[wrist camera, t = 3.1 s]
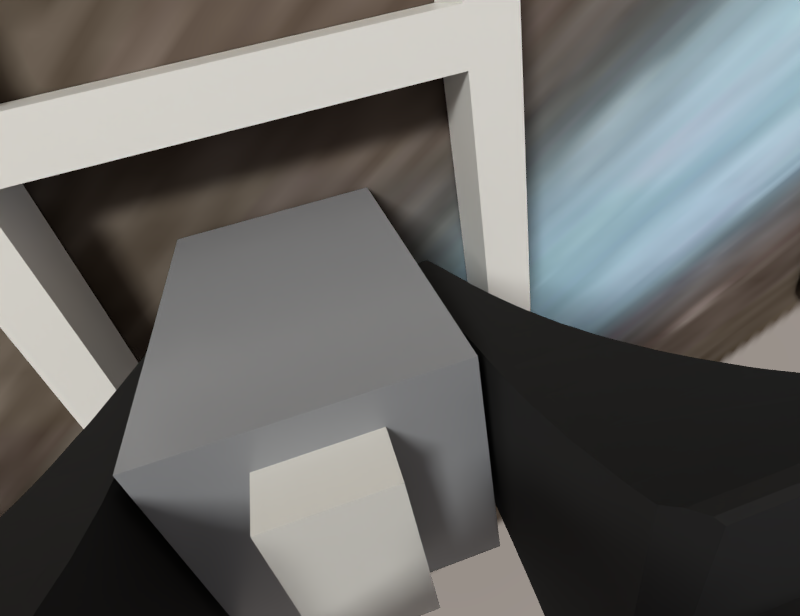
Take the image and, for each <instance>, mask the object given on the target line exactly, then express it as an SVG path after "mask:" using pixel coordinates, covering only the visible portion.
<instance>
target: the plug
mask: <svg viewBox="0 0 800 616" xmlns="http://www.w3.org/2000/svg"><path fill="white" fill-rule="evenodd" d="M113 477H114V478H115V479H116V480H117V481H118V483H119V484H120V485H121V486H122V487H123V489H124V490H125V491H126V492H127V493H128V495H129V496H130V497H131V498H132V499H133V501H134V502H135V503H136V504H137V505H138V507H139V508H140V509H141V510H142V511H143V513H144V514H145V515H146V516H147V517H148V519H149V520H150V521H151V522H152V523H153V525H154V526H155V527H156V528H157V529H158V531H159V532H160V533H161V534H162V535H163V536H164V538H165V539H166V540H167V541H168V542H169V544H170V545H171V546H172V547H173V548H174V550H175V551H176V552H177V553H178V554H179V556H180V557H181V558H182V559H183V560H184V562H185V563H186V564H187V565H188V566H189V568H190V569H191V570H192V571H193V572H194V574H195V575H196V576H197V577H198V578H199V580H200V581H201V582H202V583H203V584H204V586H205V587H206V588H207V589H208V590H209V592H210V593H211V594H212V595H213V596H214V598H215V599H216V600H217V601H218V602H219V604H220V605H221V606H222V607H223V608H224V610H225V611H226V612H227V613H228V614H229V616H421V615H423V614H426V613H428V612H431V611H434V610H436V609H438V608H440V605H439V602H438V599H437V595H436V591H435V588H434V585H433V581H432V577H431V574H430V572H433V571H435V570H438V569H441V568H443V567H445V566H448V565H451V564H454V563H456V562H459V561H462V560H464V559H467V558H469V557H472V556H475V555H478V554H480V553H483V552H485V551H488V550H491V549H493V548H496V547H498V546H500V542H499V535H498V525H497V517H496V508H495V499H494V491H493V482H492V474H491V465H490V457H489V448H488V439H487V431H486V422H485V414H484V405H483V396H482V388H481V379H480V371H479V362H478V356H477V354H476V353H475V351H474V350H473V348H472V347H471V345H470V344H469V342H468V340H467V339H466V337H465V336H464V334H463V333H462V331H461V330H460V328H459V327H458V325H457V324H456V322H455V321H454V319H453V318H452V316H451V315H450V313H449V312H448V310H447V308H446V307H445V305H444V304H443V302H442V301H441V299H440V298H439V296H438V295H437V293H436V292H435V290H434V289H433V287H432V286H431V284H430V283H429V281H428V280H427V278H426V276H425V275H424V273H423V272H422V270H421V269H420V267H419V266H418V264H417V263H416V261H415V260H414V258H413V257H412V255H411V254H410V252H409V251H408V249H407V248H406V246H405V244H404V243H403V241H402V240H401V238H400V237H399V235H398V234H397V232H396V231H395V229H394V228H393V226H392V225H391V223H390V222H389V220H388V219H387V217H386V215H385V214H384V212H383V211H382V209H381V208H380V206H379V205H378V203H377V202H376V200H375V199H374V197H373V196H372V194H371V193H370V191H369V190H368V188H363V189H359V190H356V191H352V192H348V193H345V194H341V195H338V196H334V197H330V198H327V199H323V200H319V201H316V202H312V203H308V204H305V205H301V206H298V207H294V208H290V209H287V210H283V211H279V212H276V213H272V214H268V215H265V216H261V217H258V218H254V219H250V220H247V221H243V222H239V223H236V224H232V225H228V226H225V227H221V228H218V229H214V230H210V231H207V232H203V233H199V234H196V235H192V236H188V237H185V238H181V239H178V240H177V244H176V248H175V251H174V255H173V258H172V262H171V266H170V269H169V273H168V277H167V280H166V284H165V288H164V291H163V295H162V298H161V302H160V306H159V309H158V313H157V317H156V320H155V324H154V327H153V331H152V335H151V338H150V342H149V346H148V349H147V353H146V357H145V360H144V364H143V367H142V371H141V375H140V378H139V382H138V386H137V389H136V393H135V397H134V400H133V404H132V407H131V411H130V415H129V418H128V422H127V426H126V429H125V433H124V436H123V440H122V444H121V447H120V451H119V455H118V458H117V462H116V466H115V469H114V473H113Z"/></svg>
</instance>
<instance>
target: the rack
mask: <svg viewBox="0 0 800 616" xmlns="http://www.w3.org/2000/svg"><path fill="white" fill-rule="evenodd" d="M439 78H443V80H444V88H445V96H446V105H447V113H448V122H449V130H450V139H451V147H452V155H453V164H454V172H455V181H456V189H457V197H458V206H459V214H460V223H461V231H462V240H463V248H464V256H465V265H466V273H467V282H468V283H470V284H472V285H474V286H476V287H478V288H480V289H482V290H484V291H486V292H488V293H490V294H492V295H494V296H496V297H498V298H500V299H502V300H505V301H507V302H509V303H511V304H513V305H516V306H518V307H520V308H523V309H525V310H528V311H530V281H529V250H528V220H527V189H526V159H525V128H524V98H523V67H522V37H521V6H520V0H434V3H432V4H427V5H423V6H419V7H414V8H410V9H406V10H401V11H397V12H393V13H388V14H384V15H380V16H376V17H371V18H367V19H363V20H358V21H354V22H350V23H345V24H341V25H337V26H333V27H328V28H324V29H320V30H315V31H311V32H307V33H302V34H298V35H294V36H289V37H285V38H281V39H277V40H272V41H268V42H264V43H259V44H255V45H251V46H246V47H242V48H238V49H233V50H229V51H225V52H221V53H216V54H212V55H208V56H203V57H199V58H195V59H190V60H186V61H182V62H178V63H173V64H169V65H165V66H160V67H156V68H152V69H147V70H143V71H139V72H134V73H130V74H126V75H122V76H117V77H113V78H109V79H104V80H100V81H96V82H91V83H87V84H83V85H78V86H74V87H70V88H66V89H61V90H57V91H53V92H48V93H44V94H40V95H35V96H31V97H27V98H23V99H18V100H14V101H10V102H5V103H1V104H0V327H1V329H2V330H3V331H4V332H5V334H6V335H7V336H8V337H9V338H10V340H11V341H12V342H13V343H14V345H15V346H16V347H17V348H18V349H19V351H20V352H21V353H22V354H23V356H24V357H25V358H26V359H27V360H28V362H29V363H30V364H31V365H32V367H33V368H34V369H35V370H36V371H37V373H38V374H39V375H40V376H41V378H42V379H43V380H44V381H45V382H46V384H47V385H48V386H49V387H50V389H51V390H52V391H53V392H54V393H55V395H56V396H57V397H58V398H59V400H60V401H61V402H62V403H63V404H64V406H65V407H66V408H67V409H68V411H69V412H70V413H71V414H72V415H73V417H74V418H75V419H76V420H77V422H78V423H79V424H80V425H81V426H82V428H83V429H84V428H85V427H86V426H87V425H88V424H89V423H90V422H91V420H92V419H93V418H94V417H95V416H96V414H97V413H98V412H99V411H100V410H101V408H102V407H103V406H104V405H105V403H106V402H107V401H108V400H109V399H110V397H111V396H112V395H113V394H114V393H115V391H116V390H117V389H118V388H119V386H120V385H121V384H122V383H123V382H124V380H125V379H126V378H127V377H128V375H129V374H130V373H131V372H132V370H133V369H134V368H135V367H136V365H137V364H138V361H137V360H136V358H135V357H134V355H133V354H132V352H131V351H130V349H129V348H128V346H127V345H126V343H125V341H124V340H123V338H122V337H121V335H120V334H119V332H118V331H117V329H116V328H115V326H114V324H113V323H112V321H111V320H110V318H109V317H108V315H107V314H106V312H105V311H104V309H103V307H102V306H101V304H100V303H99V301H98V300H97V298H96V297H95V295H94V294H93V292H92V291H91V289H90V287H89V286H88V284H87V283H86V281H85V280H84V278H83V277H82V275H81V274H80V272H79V270H78V269H77V267H76V266H75V264H74V263H73V261H72V260H71V258H70V257H69V255H68V253H67V252H66V250H65V249H64V247H63V246H62V244H61V243H60V241H59V240H58V238H57V236H56V235H55V233H54V232H53V230H52V229H51V227H50V226H49V224H48V223H47V221H46V220H45V218H44V216H43V215H42V213H41V212H40V210H39V209H38V207H37V206H36V204H35V203H34V201H33V199H32V198H31V196H30V195H29V193H28V192H27V190H26V189H25V187H24V186H23V184H22V183H26V182H30V181H34V180H38V179H42V178H46V177H50V176H54V175H58V174H62V173H66V172H70V171H74V170H78V169H82V168H86V167H90V166H94V165H98V164H102V163H106V162H110V161H114V160H117V159H121V158H125V157H129V156H133V155H137V154H141V153H145V152H149V151H153V150H157V149H161V148H165V147H169V146H173V145H177V144H181V143H185V142H189V141H193V140H197V139H201V138H205V137H209V136H213V135H217V134H221V133H225V132H228V131H232V130H236V129H240V128H244V127H248V126H252V125H256V124H260V123H264V122H268V121H272V120H276V119H280V118H284V117H288V116H292V115H296V114H300V113H304V112H308V111H312V110H316V109H320V108H324V107H328V106H332V105H336V104H339V103H343V102H347V101H351V100H355V99H359V98H363V97H367V96H371V95H375V94H379V93H383V92H387V91H391V90H395V89H399V88H403V87H407V86H411V85H415V84H419V83H423V82H427V81H431V80H435V79H439ZM530 312H531V311H530Z"/></svg>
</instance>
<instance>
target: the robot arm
mask: <svg viewBox="0 0 800 616" xmlns="http://www.w3.org/2000/svg"><path fill="white" fill-rule="evenodd" d="M417 264H418V266H419V267H420V269H421V270H422V272H423V273H424V275H425V276H426V278H427V280H428V281H429V283H430V284H431V286H432V287H433V289H434V290H435V292H436V293H437V295H438V296H439V298H440V299H441V301H442V302H443V304H444V305H445V307H446V308H447V310H448V312H449V313H450V315H451V316H452V318H453V319H454V321H455V322H456V324H457V325H458V327H459V328H460V330H461V331H462V333H463V334H464V336H465V337H466V339H467V340H468V342H469V344H470V345H471V347H472V348H473V350H474V351H475V353H476V354H477V356H478V362H479V371H480V379H481V388H482V396H483V405H484V414H485V422H486V431H487V439H488V448H489V457H490V465H491V474H492V482H493V491H494V499H495V504H496V506H497V508H498V510H499V513H500V515H501V517H502V519H503V521H504V524H505V526H506V528H507V530H508V532H509V535H510V537H511V539H512V541H513V543H514V546H515V548H516V550H517V553H518V555H519V557H520V559H521V562H522V564H523V566H524V569H525V571H526V573H527V575H528V578H529V580H530V582H531V585H532V587H533V589H534V592H535V594H536V596H537V598H538V601H539V603H540V606H541V608H542V610H543V613H544V615H545V616H800V373H796V372H786V371H777V370H768V369H760V368H753V367H746V366H740V365H734V364H728V363H722V362H716V361H710V360H703V359H697V358H692V357H687V356H682V355H677V354H672V353H667V352H662V351H658V350H654V349H650V348H645V347H641V346H637V345H633V344H629V343H624V342H620V341H617V340H613V339H609V338H606V337H602V336H599V335H595V334H592V333H589V332H586V331H583V330H580V329H577V328H574V327H570V326H567V325H564V324H561V323H558V322H556V321H553V320H550V319H547V318H545V317H542V316H540V315H537V314H535V313H532V312H530V311H528V310H525V309H523V308H520V307H518V306H516V305H513V304H511V303H509V302H507V301H505V300H502V299H500V298H498V297H496V296H494V295H492V294H490V293H488V292H486V291H484V290H482V289H480V288H478V287H476V286H474V285H472V284H470V283H468V282H466V281H464V280H463V279H461V278H459V277H457V276H455V275H453V274H452V273H450V272H448V271H446V270H444V269H443V268H441V267H439V266H437V265H435V264H433V263H431V262H429V261H424V262H420V263H417ZM145 357H146V355H145V356H144V357H143V358H142V359H141V361H140V362H139V363H138V364H137V365H136V367H135V368H134V369H133V370H132V372H131V373H130V374H129V375H128V377H127V378H126V379H125V380H124V382H123V383H122V384H121V385H120V386H119V388H118V389H117V390H116V391H115V393H114V394H113V395H112V396H111V397H110V399H109V400H108V401H107V402H106V403H105V405H104V406H103V407H102V408H101V410H100V411H99V412H98V413H97V414H96V416H95V417H94V418H93V419H92V420H91V422H90V423H89V424H88V425H87V426H86V427H85V428H84V430H83V431H82V432H81V433H80V434H79V435H78V436H77V437H76V438H75V440H74V441H73V442H72V443H71V444H70V445H69V446H68V447H67V449H66V450H65V451H64V452H63V453H62V454H61V455H60V456H59V458H58V459H57V460H56V461H55V462H54V463H53V464H52V465H51V467H50V468H49V469H48V470H47V471H46V472H45V473H44V474H43V475H42V476H41V477H40V478H39V479H38V480H37V481H36V483H35V484H34V485H33V486H32V487H31V488H30V489H29V490H28V491H27V492H26V493H25V494H24V495H23V496H22V497H21V498H20V499H19V500H18V501H17V502H16V503H15V504H14V505H13V506H12V507H11V508H10V509H9V510H7V511H6V512H5V513H4V514H3V515H2V516H1V517H0V616H229V614H228V613H227V612H226V611H225V610H224V608H223V607H222V606H221V605H220V604H219V602H218V601H217V600H216V599H215V598H214V596H213V595H212V594H211V593H210V592H209V590H208V589H207V588H206V587H205V586H204V584H203V583H202V582H201V581H200V580H199V578H198V577H197V576H196V575H195V574H194V572H193V571H192V570H191V569H190V568H189V566H188V565H187V564H186V563H185V562H184V560H183V559H182V558H181V557H180V556H179V554H178V553H177V552H176V551H175V550H174V548H173V547H172V546H171V545H170V544H169V542H168V541H167V540H166V539H165V538H164V536H163V535H162V534H161V533H160V532H159V531H158V529H157V528H156V527H155V526H154V525H153V523H152V522H151V521H150V520H149V519H148V517H147V516H146V515H145V514H144V513H143V511H142V510H141V509H140V508H139V507H138V505H137V504H136V503H135V502H134V501H133V499H132V498H131V497H130V496H129V495H128V493H127V492H126V491H125V490H124V489H123V487H122V486H121V485H120V484H119V483H118V481H117V480H116V479H115V478H114V477H113V473H114V469H115V466H116V462H117V458H118V455H119V451H120V447H121V444H122V440H123V436H124V433H125V429H126V426H127V422H128V418H129V415H130V411H131V407H132V404H133V400H134V397H135V393H136V389H137V386H138V382H139V378H140V375H141V371H142V367H143V364H144V360H145Z"/></svg>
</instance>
